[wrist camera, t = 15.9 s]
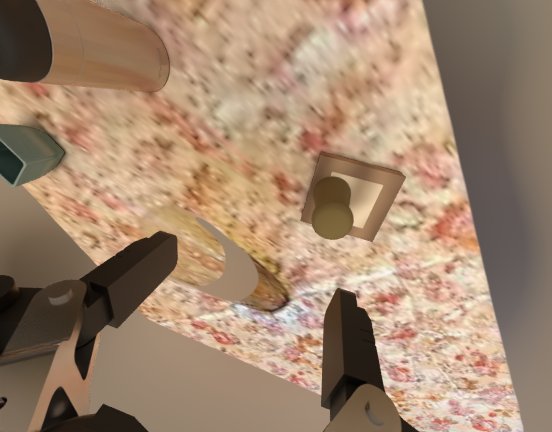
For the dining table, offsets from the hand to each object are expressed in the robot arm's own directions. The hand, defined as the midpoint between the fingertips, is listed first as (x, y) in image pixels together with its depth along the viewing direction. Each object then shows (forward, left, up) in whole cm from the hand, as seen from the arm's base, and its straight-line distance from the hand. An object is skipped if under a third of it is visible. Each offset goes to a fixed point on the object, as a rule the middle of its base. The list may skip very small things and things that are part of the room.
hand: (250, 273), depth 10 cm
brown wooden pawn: (+6, -5, -27) cm, 28 cm away
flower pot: (-55, -13, -30) cm, 64 cm away
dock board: (+9, -5, -30) cm, 32 cm away
